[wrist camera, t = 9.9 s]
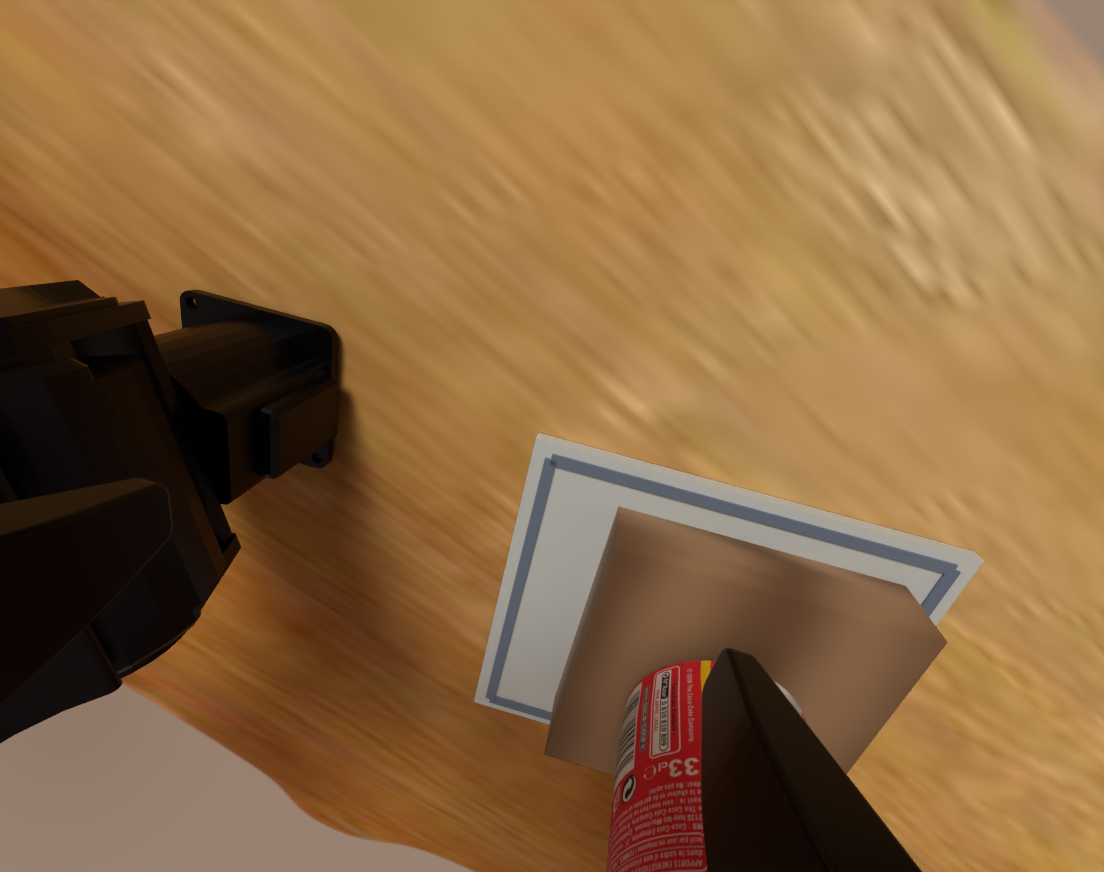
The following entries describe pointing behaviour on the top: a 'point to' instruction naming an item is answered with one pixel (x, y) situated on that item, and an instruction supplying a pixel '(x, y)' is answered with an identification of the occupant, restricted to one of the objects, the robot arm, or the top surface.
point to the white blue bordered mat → (614, 480)
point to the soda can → (661, 774)
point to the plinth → (736, 634)
